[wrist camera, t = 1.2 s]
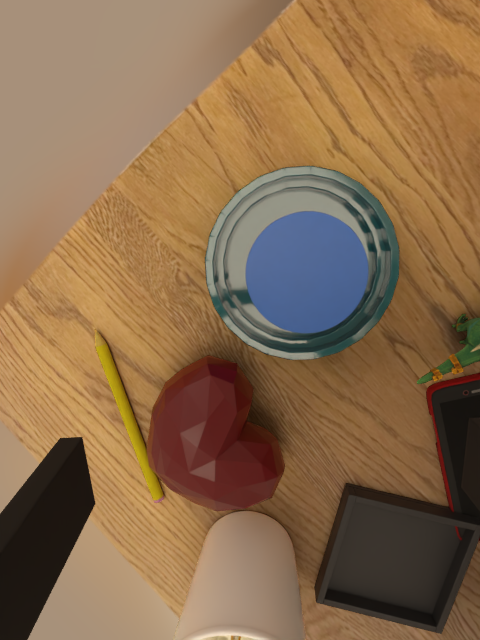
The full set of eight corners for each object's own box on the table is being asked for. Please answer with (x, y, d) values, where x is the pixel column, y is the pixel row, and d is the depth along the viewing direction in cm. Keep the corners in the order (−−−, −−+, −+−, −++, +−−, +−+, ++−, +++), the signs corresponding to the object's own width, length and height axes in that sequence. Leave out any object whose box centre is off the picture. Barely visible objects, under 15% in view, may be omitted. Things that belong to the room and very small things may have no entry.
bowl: (409, 193, 29) (424, 188, 26) (360, 365, 32) (368, 377, 29) (230, 157, 29) (225, 148, 27) (197, 328, 32) (190, 337, 29)
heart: (187, 502, 35) (289, 457, 35) (175, 567, 27) (306, 510, 27) (127, 383, 33) (232, 335, 33) (96, 416, 26) (233, 354, 25)
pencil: (165, 494, 36) (162, 501, 35) (155, 496, 36) (152, 503, 35) (102, 325, 33) (97, 328, 32) (92, 328, 33) (86, 331, 32)
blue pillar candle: (354, 229, 29) (383, 225, 22) (331, 318, 31) (350, 345, 23) (263, 210, 30) (259, 199, 22) (244, 299, 31) (234, 319, 23)
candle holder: (177, 526, 36) (130, 662, 25) (270, 485, 35) (267, 611, 23) (228, 607, 38) (207, 773, 26) (321, 571, 36) (343, 732, 24)
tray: (474, 513, 34) (484, 526, 32) (434, 617, 36) (441, 634, 34) (345, 482, 34) (349, 494, 32) (314, 587, 36) (316, 602, 35)
